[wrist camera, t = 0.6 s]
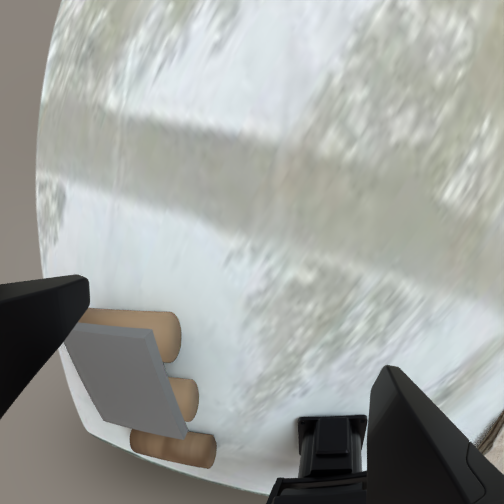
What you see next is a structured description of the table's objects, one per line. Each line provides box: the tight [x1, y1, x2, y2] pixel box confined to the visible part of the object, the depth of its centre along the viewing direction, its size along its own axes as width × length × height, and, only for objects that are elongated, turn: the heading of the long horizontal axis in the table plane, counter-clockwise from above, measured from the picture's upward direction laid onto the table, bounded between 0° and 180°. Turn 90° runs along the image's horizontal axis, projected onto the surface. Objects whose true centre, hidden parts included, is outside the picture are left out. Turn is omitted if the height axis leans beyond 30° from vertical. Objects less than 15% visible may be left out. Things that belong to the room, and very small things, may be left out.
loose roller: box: [130, 429, 217, 469], centre depth 29 cm, size 4×9×4 cm, turn 97°
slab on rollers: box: [64, 308, 199, 440], centre depth 25 cm, size 11×9×5 cm
